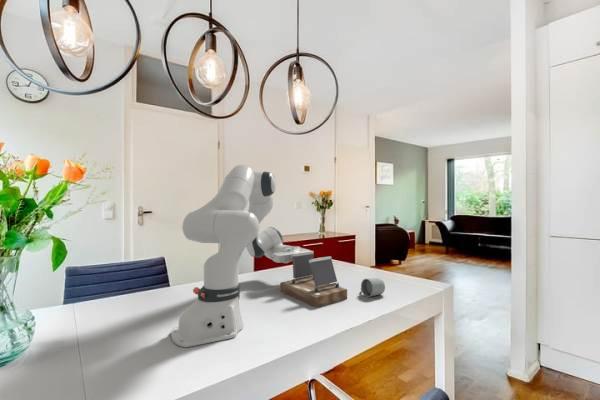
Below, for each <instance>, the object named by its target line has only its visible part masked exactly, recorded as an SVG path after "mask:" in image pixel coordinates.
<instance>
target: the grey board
mask: <svg viewBox="0 0 600 400" xmlns="http://www.w3.org/2000/svg"><path fill="white" fill-rule="evenodd" d="M314 254H315V253H314V250H310V251H306V252H299V253H292V256H293V261H292V277H293V279H297V278H302V277H307V276H312V270H311V266H310V263H309V260H311V259H315V258H314Z"/></svg>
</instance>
